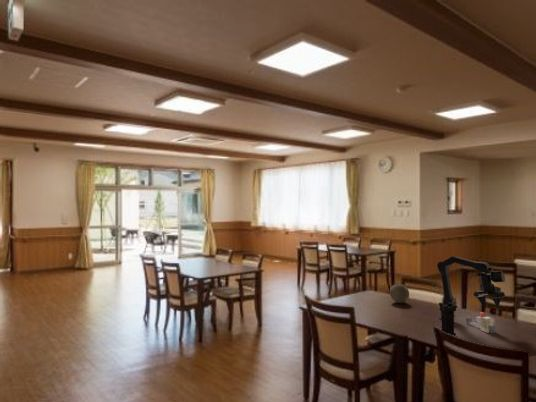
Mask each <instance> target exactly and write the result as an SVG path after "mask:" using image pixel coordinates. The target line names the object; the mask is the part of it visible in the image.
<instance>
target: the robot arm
mask: <svg viewBox="0 0 536 402" xmlns="http://www.w3.org/2000/svg"><path fill="white" fill-rule="evenodd" d="M454 264H458V265H462V266H465V267H469V268H472V269H473V270H474V271H478V272H477V274H476V277H480V283H481V284H480V287H482V290H477V291H474V292H473V297H475V298H477V300H478V301H479V302H480V303H481V304H482V306H483V308H487V301H486V298H487V296H491V297H492V300H493V302H494V303H493V304H494V305H495V308H496V309H497V310H499V309H500V303H501V300H502V299H503V298H504V297H506V294H505V292H504V291H501V290H502V289H501V287H499V286H496V285H495V284H494V283H505V281H506V276H505V274H504V272H503V270H497V271H495V270H494V269H493V268H492V267H491V265H490V264H489V262H486V261H474V260H472V259H471V260H470V259H466V258H462V257H459V256H456V255H452V256H450V257H448V258H446V259H445V260H442V261H439V262H437V264H436V268H437V270H438V272H439V274H440V276H441V281H442V283H441V284H442V289H443V297H444V298H443V300H442V303H443V305H448V303H452V305H451V306H453V305H457V298H455V297H454V296H453V293H452V288H451V281H450V275H449V274H450V270H451V266H452V265H454ZM492 282H493V283H492ZM439 312H440V318H439V320H440V321H442V314H441V313H442V309H440V308H439Z"/></svg>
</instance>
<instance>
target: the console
mask: <svg viewBox="0 0 536 402" xmlns="http://www.w3.org/2000/svg"><path fill="white" fill-rule="evenodd" d="M475 321H476V322H475V323H477V324H480V325H481V318H480V315H479V316H476V317H475Z"/></svg>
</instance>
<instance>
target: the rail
mask: <svg viewBox="0 0 536 402" xmlns="http://www.w3.org/2000/svg"><path fill="white" fill-rule="evenodd" d="M465 322H466V325H468V326H469V325H470V326H472V327H474V328H476V329H479V330H481V324H478V323H476V322H474V321H472V317H466V321H465ZM496 328H497V327H496V325H495V326H490V332H489V334H492V335H493V334H496V331H497V330H496Z"/></svg>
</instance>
